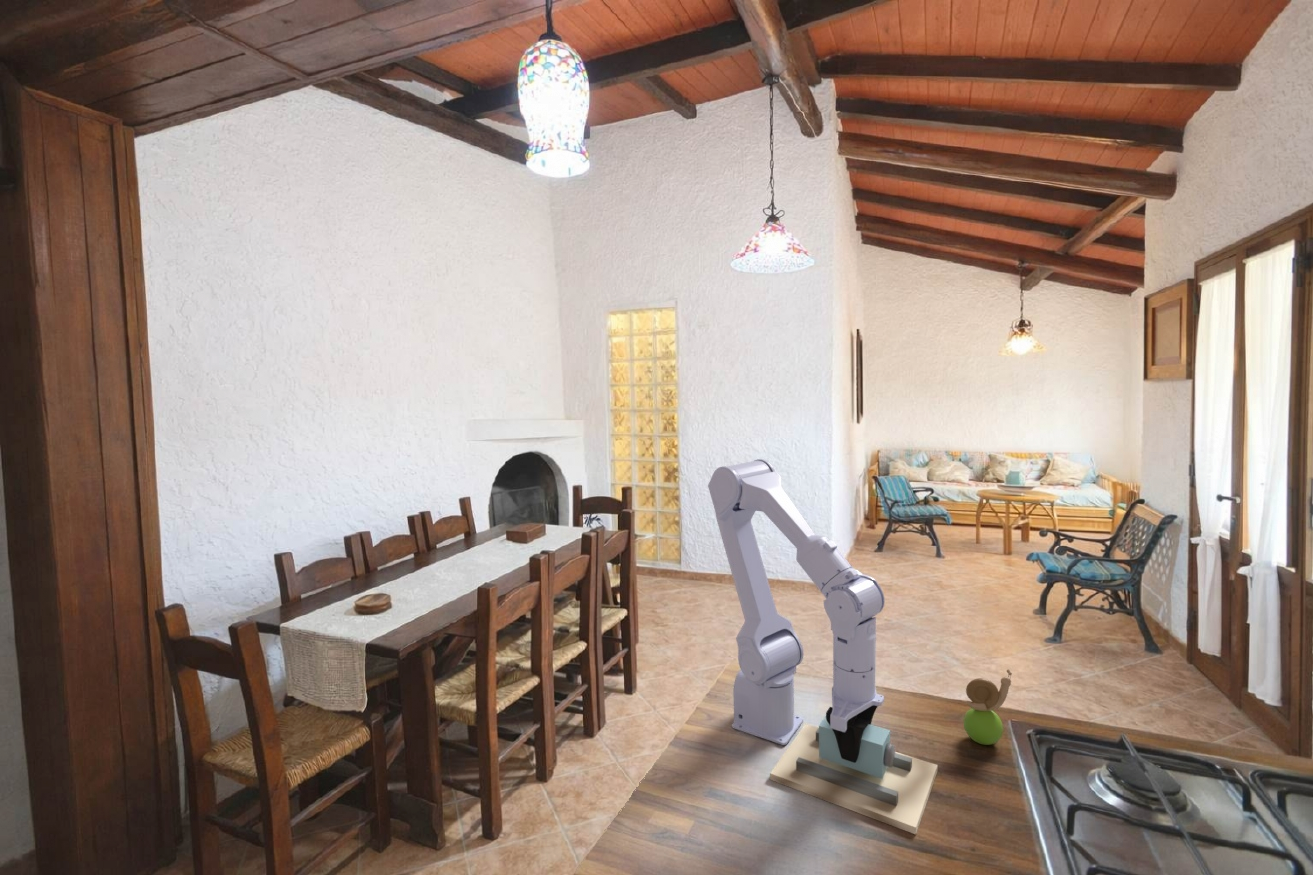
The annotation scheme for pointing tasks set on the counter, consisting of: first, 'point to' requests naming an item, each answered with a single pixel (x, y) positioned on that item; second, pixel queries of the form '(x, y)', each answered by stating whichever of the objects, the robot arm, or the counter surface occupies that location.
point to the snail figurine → (985, 709)
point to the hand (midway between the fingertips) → (853, 750)
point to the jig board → (858, 782)
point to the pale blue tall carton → (872, 752)
